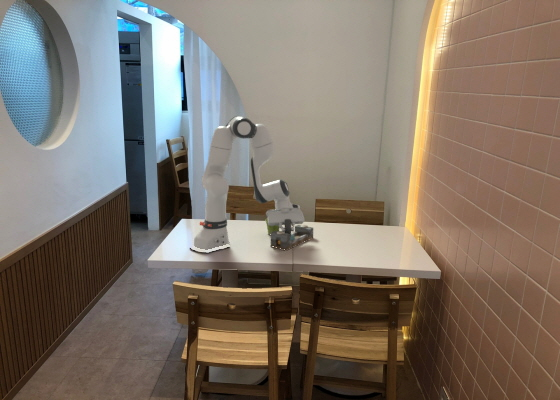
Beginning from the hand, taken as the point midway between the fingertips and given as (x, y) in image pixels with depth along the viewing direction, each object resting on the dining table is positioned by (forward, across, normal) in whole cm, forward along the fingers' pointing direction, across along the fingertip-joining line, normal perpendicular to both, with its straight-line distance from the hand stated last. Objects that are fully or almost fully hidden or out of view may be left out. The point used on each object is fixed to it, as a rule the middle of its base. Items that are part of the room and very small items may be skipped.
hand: (288, 231), depth 247 cm
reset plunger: (+6, -4, +2) cm, 8 cm away
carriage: (+4, 0, +5) cm, 6 cm away
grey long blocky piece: (+3, +4, +8) cm, 9 cm away
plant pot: (-8, -3, +20) cm, 22 cm away
